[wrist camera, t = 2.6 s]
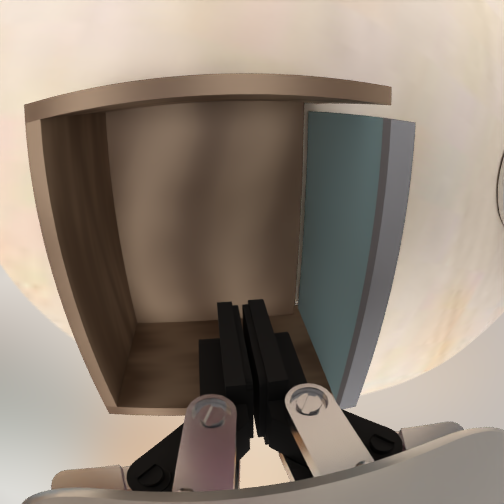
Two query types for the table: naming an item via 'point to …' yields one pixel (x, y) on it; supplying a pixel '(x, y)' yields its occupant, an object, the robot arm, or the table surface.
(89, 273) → the box
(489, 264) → the table surface
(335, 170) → the light blue panel
